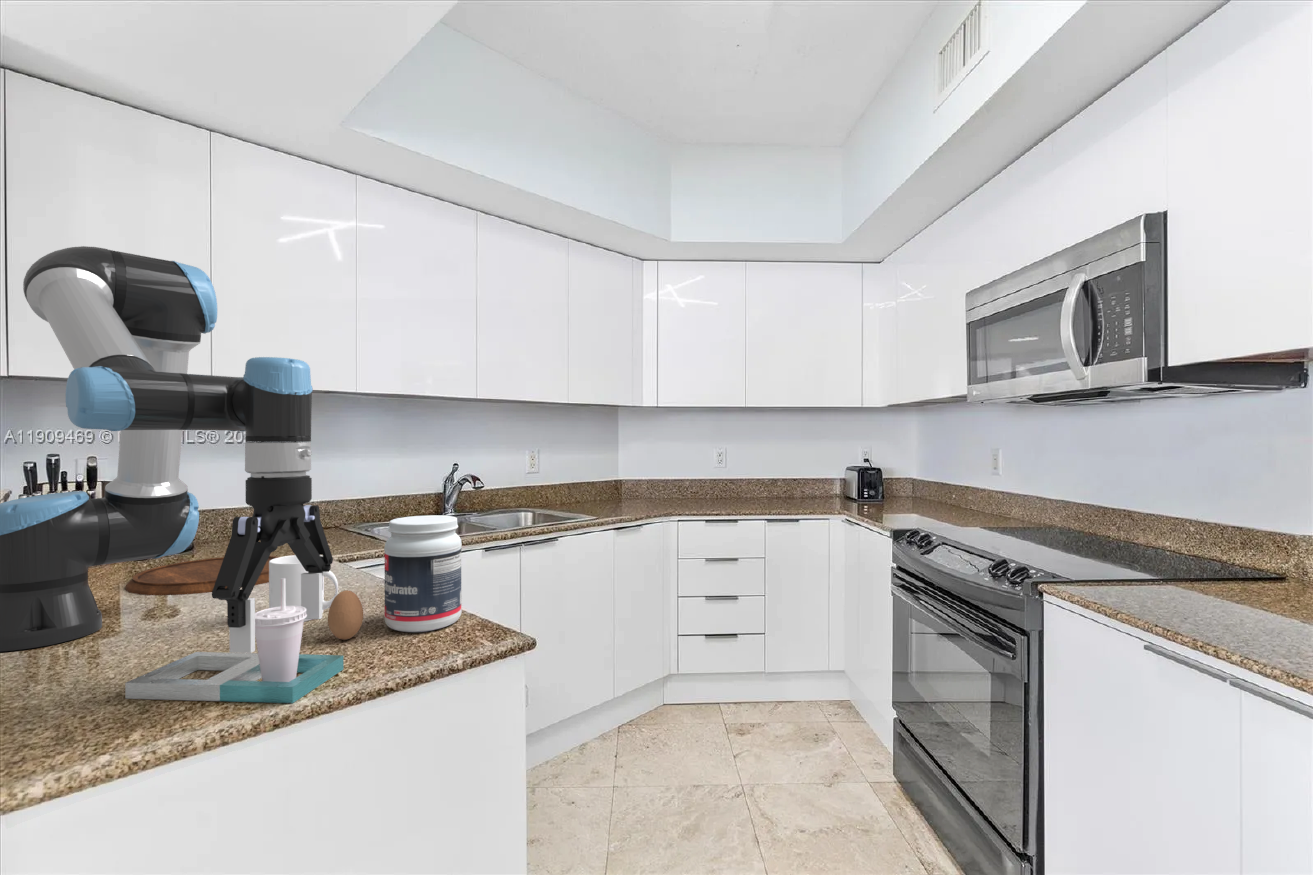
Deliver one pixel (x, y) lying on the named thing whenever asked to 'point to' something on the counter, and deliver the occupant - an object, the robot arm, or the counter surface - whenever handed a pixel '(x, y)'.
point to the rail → (231, 679)
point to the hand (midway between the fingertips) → (279, 634)
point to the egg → (345, 615)
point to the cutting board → (184, 578)
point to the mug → (292, 582)
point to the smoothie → (279, 639)
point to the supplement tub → (422, 573)
